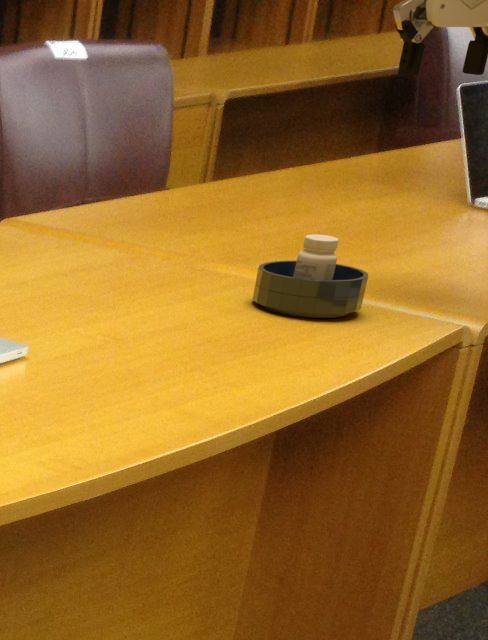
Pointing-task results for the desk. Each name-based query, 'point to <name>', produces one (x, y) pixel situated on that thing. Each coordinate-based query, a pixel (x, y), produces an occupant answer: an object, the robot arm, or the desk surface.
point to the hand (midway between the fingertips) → (440, 74)
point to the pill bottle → (317, 258)
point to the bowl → (309, 291)
